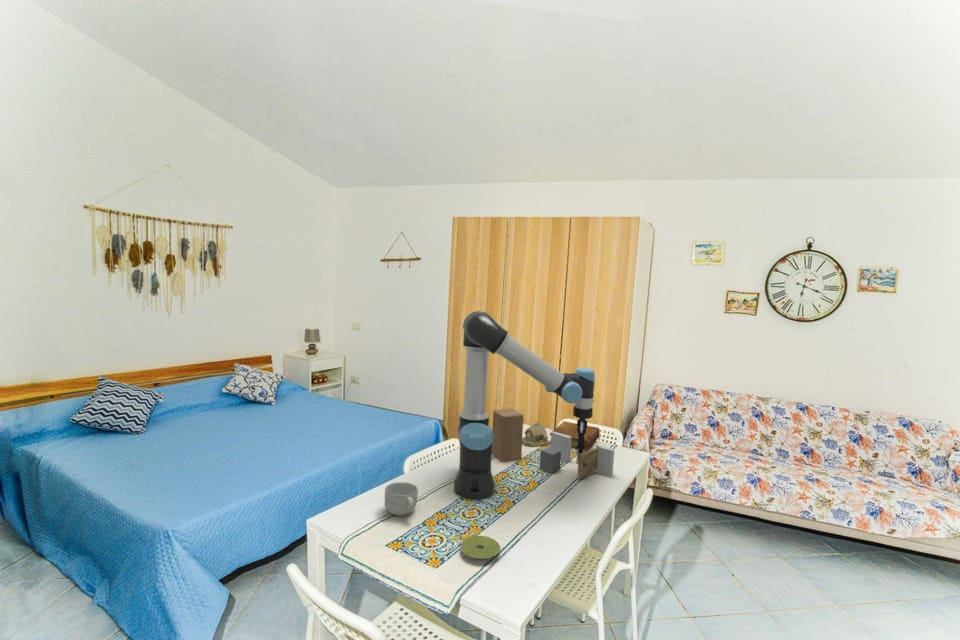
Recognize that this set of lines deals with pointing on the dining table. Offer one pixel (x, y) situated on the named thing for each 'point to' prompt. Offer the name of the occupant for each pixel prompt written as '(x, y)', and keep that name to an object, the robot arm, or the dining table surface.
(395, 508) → the teacup
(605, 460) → the door frame
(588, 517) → the dining table surface
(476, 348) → the robot arm
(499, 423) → the wooden block
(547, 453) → the block
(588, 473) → the door
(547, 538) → the dining table surface
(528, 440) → the ceramic model
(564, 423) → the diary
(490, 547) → the olive green disc
